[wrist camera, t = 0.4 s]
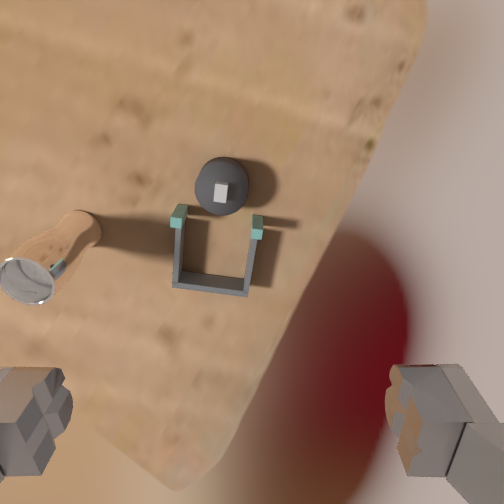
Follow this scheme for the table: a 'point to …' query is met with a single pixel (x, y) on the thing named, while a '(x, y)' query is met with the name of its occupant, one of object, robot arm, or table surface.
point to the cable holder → (206, 280)
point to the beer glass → (48, 259)
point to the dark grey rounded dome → (222, 186)
